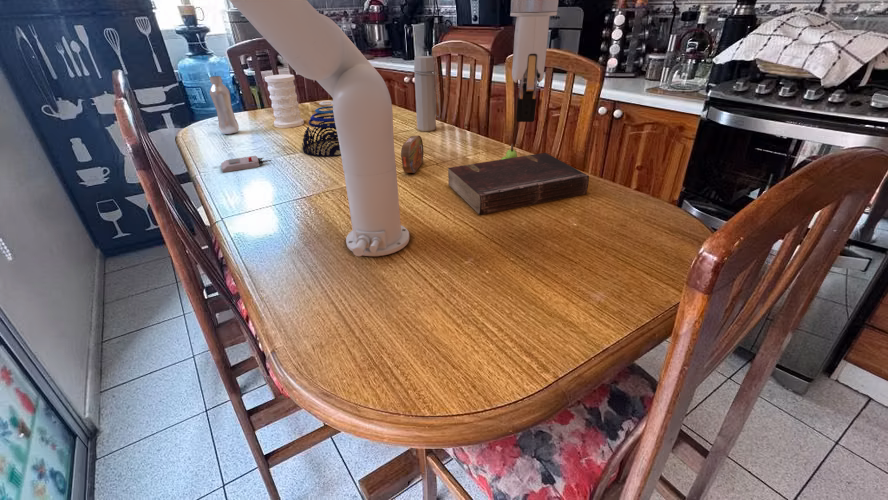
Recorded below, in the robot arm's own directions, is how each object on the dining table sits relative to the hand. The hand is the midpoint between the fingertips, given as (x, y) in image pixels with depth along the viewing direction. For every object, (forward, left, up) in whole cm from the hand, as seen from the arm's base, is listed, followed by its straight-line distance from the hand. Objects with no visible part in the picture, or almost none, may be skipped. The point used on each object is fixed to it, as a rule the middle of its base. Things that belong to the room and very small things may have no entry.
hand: (525, 120), depth 77 cm
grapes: (+36, 0, -22) cm, 42 cm away
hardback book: (+20, -1, -22) cm, 30 cm away
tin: (+35, +28, -22) cm, 50 cm away
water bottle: (+77, +29, -22) cm, 85 cm away
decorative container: (+84, +87, -22) cm, 123 cm away
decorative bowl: (+54, +58, -22) cm, 82 cm away
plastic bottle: (+70, +104, -22) cm, 127 cm away
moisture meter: (+35, +80, -22) cm, 90 cm away
